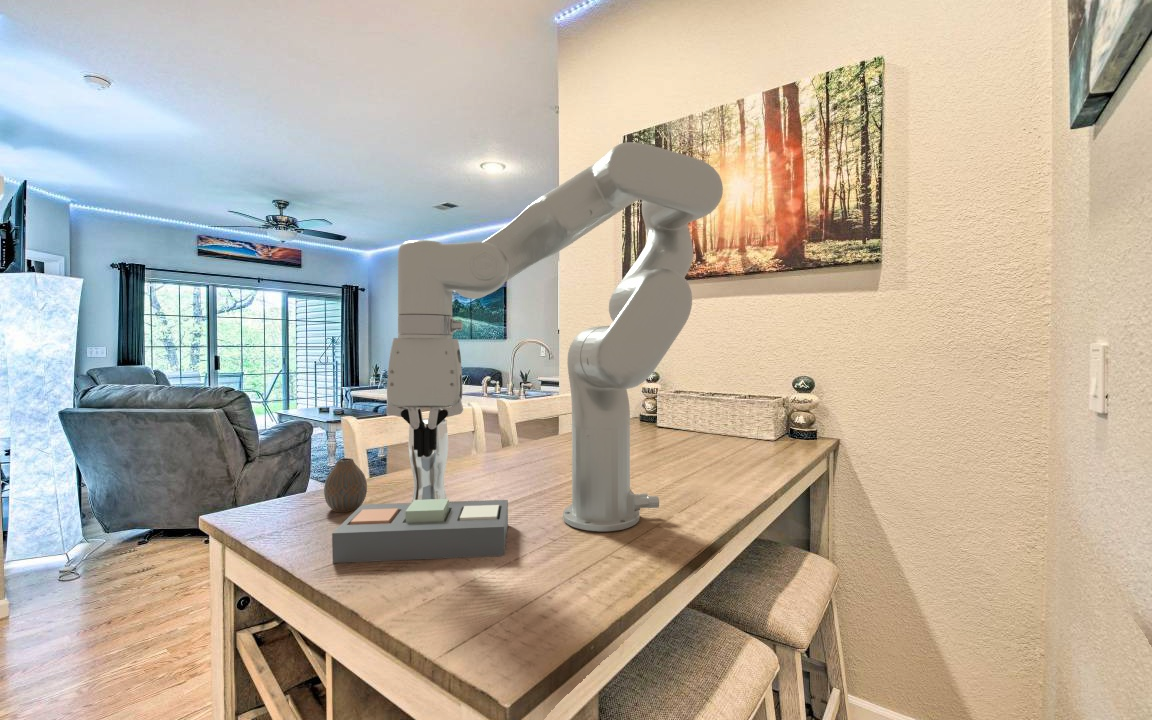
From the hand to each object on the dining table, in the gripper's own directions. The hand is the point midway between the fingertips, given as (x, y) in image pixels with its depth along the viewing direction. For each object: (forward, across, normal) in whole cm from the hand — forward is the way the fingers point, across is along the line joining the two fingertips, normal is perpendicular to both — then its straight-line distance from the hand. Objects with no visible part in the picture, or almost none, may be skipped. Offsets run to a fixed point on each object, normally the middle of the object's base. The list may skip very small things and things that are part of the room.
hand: (425, 454), depth 74 cm
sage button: (+11, 0, 0) cm, 11 cm away
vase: (+13, +17, -17) cm, 28 cm away
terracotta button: (+13, +7, 0) cm, 15 cm away
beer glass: (+13, +3, -19) cm, 23 cm away
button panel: (+13, 0, 0) cm, 13 cm away
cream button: (+13, -8, 0) cm, 15 cm away
